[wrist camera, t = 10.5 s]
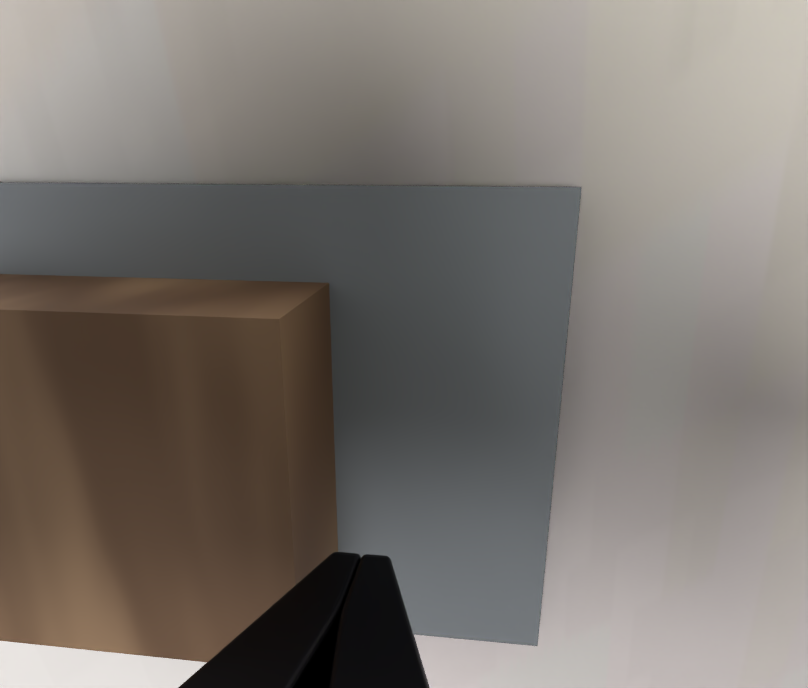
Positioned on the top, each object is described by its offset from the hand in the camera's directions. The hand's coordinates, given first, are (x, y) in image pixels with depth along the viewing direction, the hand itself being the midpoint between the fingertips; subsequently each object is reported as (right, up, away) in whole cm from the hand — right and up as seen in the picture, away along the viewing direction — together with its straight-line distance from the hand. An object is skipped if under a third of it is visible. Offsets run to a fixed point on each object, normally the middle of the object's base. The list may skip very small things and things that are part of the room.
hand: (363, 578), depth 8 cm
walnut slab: (-1, +1, +3) cm, 3 cm away
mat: (-3, +2, +5) cm, 6 cm away
